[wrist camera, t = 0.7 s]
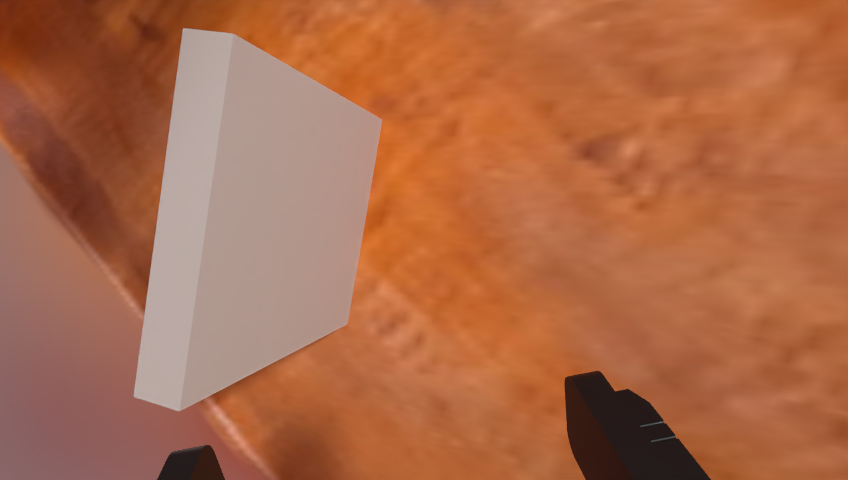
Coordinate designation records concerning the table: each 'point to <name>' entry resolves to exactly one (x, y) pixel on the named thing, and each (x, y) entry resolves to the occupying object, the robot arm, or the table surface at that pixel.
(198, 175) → the tile
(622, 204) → the table surface
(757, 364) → the table surface
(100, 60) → the table surface
